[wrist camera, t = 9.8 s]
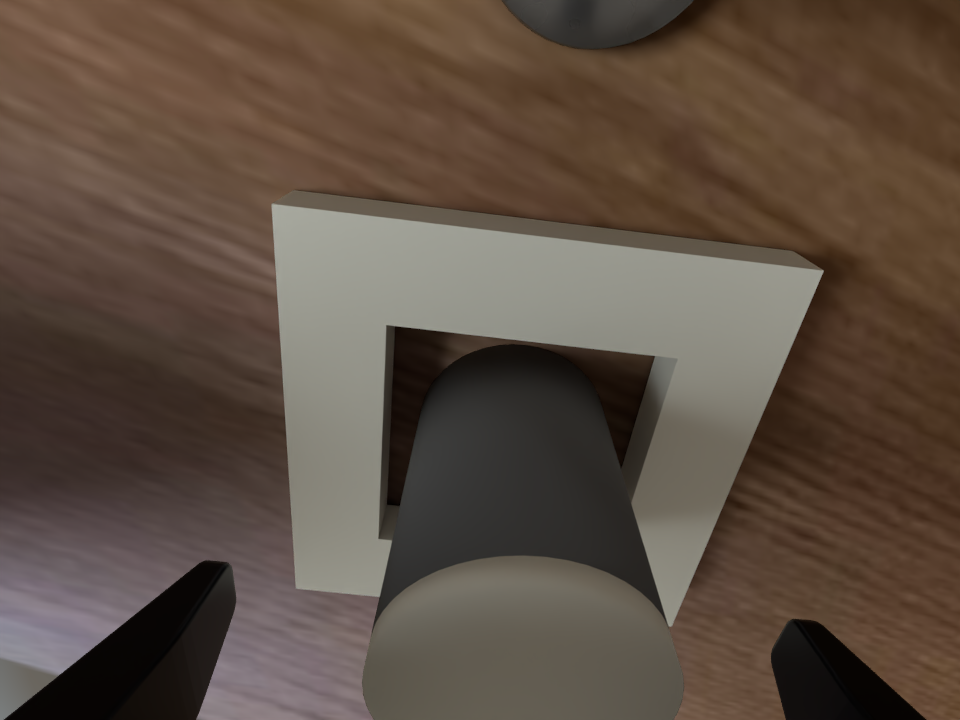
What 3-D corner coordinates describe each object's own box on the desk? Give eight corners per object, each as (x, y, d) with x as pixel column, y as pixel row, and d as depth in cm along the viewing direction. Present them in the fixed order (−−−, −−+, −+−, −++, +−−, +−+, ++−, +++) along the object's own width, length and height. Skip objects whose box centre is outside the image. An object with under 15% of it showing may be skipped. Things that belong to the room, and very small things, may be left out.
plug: (415, 486, 14) (360, 766, 9) (426, 333, 12) (364, 570, 7) (582, 504, 14) (637, 792, 9) (622, 356, 12) (728, 607, 7)
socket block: (309, 552, 16) (296, 588, 15) (293, 190, 11) (271, 203, 10) (660, 588, 16) (671, 626, 15) (792, 250, 11) (823, 270, 10)
